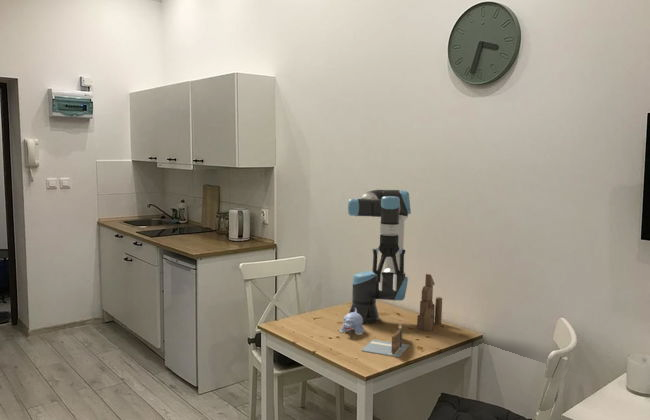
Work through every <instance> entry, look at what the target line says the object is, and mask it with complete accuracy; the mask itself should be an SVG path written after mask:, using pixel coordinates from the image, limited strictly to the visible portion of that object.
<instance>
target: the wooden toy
mask: <svg viewBox="0 0 650 420" xmlns="http://www.w3.org/2000/svg"><path fill="white" fill-rule="evenodd" d="M435 285H436V283H435V281H434V279H433V276H432V274H429V273H426V274H425V283H424V286H422V289H421V300H420V302H419V314H418V315H417V322H416V323H417V325H416V329H417V330H422V331H427V332H432V330H433V325H434V324H435V325H441V324H442V316H443V297H441V296H436V297H435V302H434V301H433V299H434V298H433V294H434V292H433V291H434V286H435Z"/></svg>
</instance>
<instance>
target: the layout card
mask: <svg viewBox="0 0 650 420" xmlns="http://www.w3.org/2000/svg"><path fill="white" fill-rule="evenodd" d="M409 346H410V345H409V344H404V343H402V344H401V347H400V348H399V349H398V350H397V351H396V353H395V354H392V353H391V350H392V341H386V340H380V339H375V338H374V339H372V340H370V342H368V343H367V344H366V345H365V346H364V347H363V348H362V349H361V352H366V353H371V354H378V355H383V356H389V357H394V358H400V357H401V356H402V355H403V354H404V352H406V350H407V349H408V348H409ZM407 347H408V348H407ZM402 353H403V354H402Z"/></svg>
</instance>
